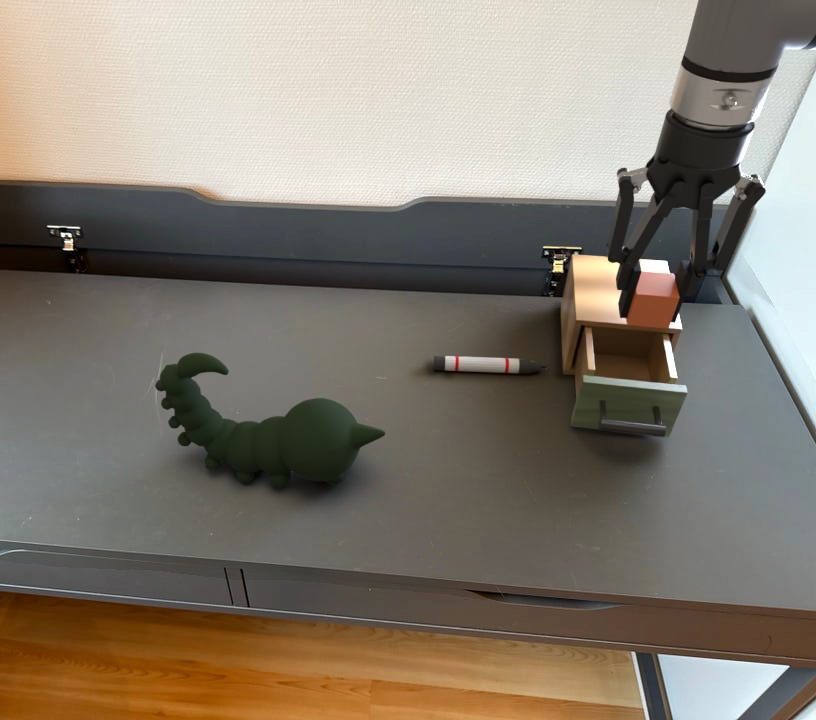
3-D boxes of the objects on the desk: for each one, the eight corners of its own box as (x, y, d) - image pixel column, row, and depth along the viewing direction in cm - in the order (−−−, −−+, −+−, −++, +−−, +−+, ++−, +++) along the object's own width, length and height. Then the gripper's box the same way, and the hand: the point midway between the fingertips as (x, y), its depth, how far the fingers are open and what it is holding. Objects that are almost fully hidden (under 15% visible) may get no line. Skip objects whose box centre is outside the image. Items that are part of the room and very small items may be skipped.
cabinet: (661, 384, 93) (682, 329, 86) (562, 374, 95) (575, 319, 89) (649, 314, 103) (667, 260, 97) (560, 307, 106) (571, 253, 99)
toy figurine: (183, 494, 86) (385, 513, 80) (132, 384, 73) (367, 396, 67) (209, 436, 92) (397, 449, 86) (166, 326, 80) (382, 331, 74)
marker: (433, 373, 97) (434, 362, 95) (433, 363, 98) (434, 352, 97) (547, 377, 95) (550, 366, 94) (546, 367, 96) (548, 356, 95)
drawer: (673, 465, 82) (693, 420, 77) (572, 453, 84) (585, 408, 79) (655, 362, 95) (671, 317, 89) (567, 353, 97) (578, 309, 91)
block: (663, 304, 81) (674, 273, 78) (668, 328, 78) (679, 297, 75) (623, 300, 82) (632, 270, 79) (626, 325, 79) (636, 294, 76)
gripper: (614, 128, 63) (567, 326, 79) (829, 137, 60) (735, 342, 76) (608, 93, 68) (565, 286, 84) (805, 100, 65) (722, 299, 81)
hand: (646, 312), depth 80 cm, fingers closed on block, 4 cm apart
